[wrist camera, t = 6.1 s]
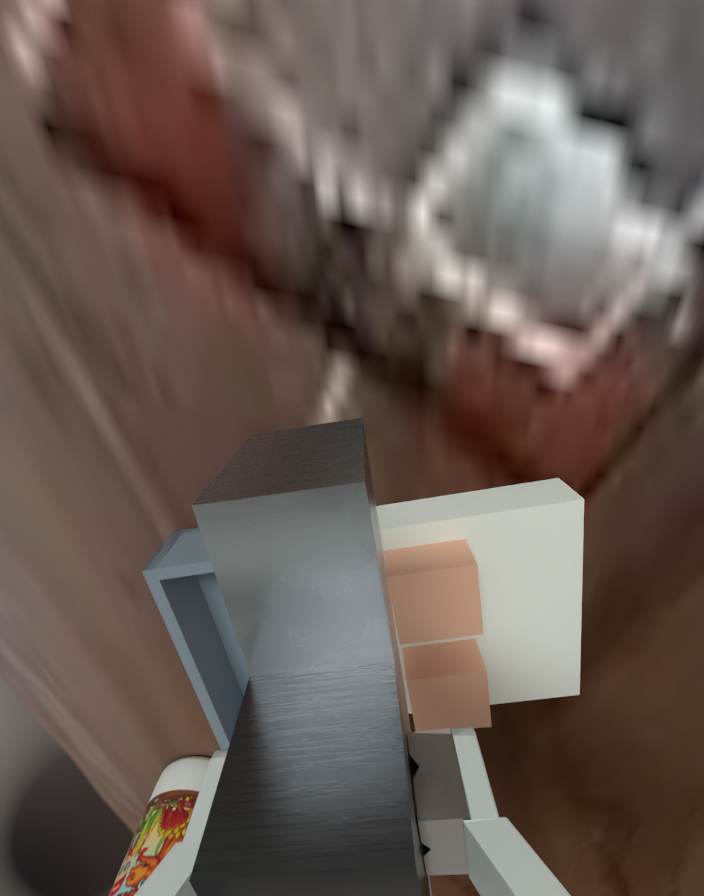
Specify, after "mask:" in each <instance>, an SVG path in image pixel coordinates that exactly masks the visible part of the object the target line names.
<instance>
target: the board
mask: <svg viewBox="0 0 704 896" xmlns="http://www.w3.org/2000/svg"><path fill="white" fill-rule="evenodd" d="M376 509H377V515H378V522H379V528H380V534H381V541H382V547H383V554H384V560H385V553H384V550H391V549H398V548H405V547H412V546H418V545H425V544H432V543H439V542H446V541H453V540H460V539H466V541H467V543H468V545H469V547H470V550H471V552H472V554H473V556H474V558H475V560H476V562H477V566H478V577H479V588H480V600H481V611H482V623H483V634H480V635H472V636H464V637H456V638H448V639H440V640H433V641H425V642H417V643H409V644H401V645H400V644H399V639H398V633H397V628H396V623H395V617H394V612H393V618H394V624H395V631H396V637H397V643H398V650H399V656H400V663H401V669H402V676H403V682H404V688H405V695H406V701H407V708H408V714H412V709H411V704H410V698H409V693H408V687H407V682H406V675H405V667H404V659H403V651H402V648H403V647H411V646H419V645H427V644H435V643H443V642H451V641H459V640H467V639H476V642H477V645H478V648H479V651H480V654H481V656H482V659H483V662H484V665H485V668H486V670H487V679H488V691H489V702H490V705H492V704H501V703H510V702H519V701H528V700H537V699H546V698H555V697H564V696H573V695H580V659H581V615H582V571H583V528H584V499H583V498H582V497H581V496H580V495H579V494H577V493H576V492H575V491H574V490H573V489H571V488H570V487H569V486H568V485H567V484H565V483H564V482H563V481H562V480H561V479H559V478H555V479H549V480H542V481H536V482H529V483H523V484H516V485H510V486H504V487H497V488H491V489H484V490H478V491H471V492H465V493H458V494H452V495H446V496H439V497H433V498H426V499H420V500H413V501H407V502H400V503H394V504H387V505H381V506H376ZM385 566H386V562H385ZM386 573H387V572H386ZM388 586H389V585H388ZM389 592H390V590H389ZM390 599H391V596H390ZM391 605H392V601H391ZM392 611H393V606H392Z"/></svg>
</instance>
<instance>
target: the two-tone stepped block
mask: <svg viewBox="0 0 704 896" xmlns="http://www.w3.org/2000/svg"><path fill="white" fill-rule="evenodd" d="M192 508H193V511H194V514H195V516H196V519H197V522H198V525H199V528H200V531H201V534H202V537H203V540H204V543H205V546H206V549H207V552H208V555H209V558H210V561H211V564H212V567H213V570H214V573H215V576H216V579H217V581H218V584H219V587H220V590H221V593H222V596H223V599H224V602H225V605H226V608H227V611H228V614H229V617H230V620H231V623H232V626H233V629H234V632H235V635H236V638H237V641H238V644H239V646H240V649H241V652H242V655H243V658H244V661H245V664H246V667H247V670H248V673H249V676H250V677H249V680H248V684H247V687H246V690H245V694H244V697H243V701H242V704H241V707H240V711H239V714H238V717H237V721H236V724H235V728H234V731H233V734H232V738H231V741H230V745H229V748H228V751H227V755H226V758H225V761H224V765H223V768H222V772H221V775H220V778H219V782H218V785H217V789H216V792H215V795H214V799H213V802H212V805H211V809H210V812H209V816H208V819H207V822H206V826H205V829H204V833H203V836H202V839H201V843H200V846H199V850H198V853H197V856H196V860H195V863H194V866H193V870H192V873H191V877H190V880H189V882H190V884H191V885H192V887H193V889H194V891H195V893H196V895H197V896H433V889H432V881H431V875H427V872H426V867H425V861H424V856H423V847H422V843H421V838H420V831H419V825H418V818H417V810H416V801H415V793H414V785H413V779H414V776H413V771H412V765H411V758H410V750H409V741H408V733H410V732H411V727H410V720H409V714H408V708H407V701H406V695H405V688H404V682H403V676H402V669H401V663H400V656H399V650H398V643H397V637H396V631H395V624H394V618H393V611H392V605H391V599H390V592H389V586H388V579H387V573H386V566H385V560H384V554H383V547H382V541H381V534H380V528H379V522H378V515H377V509H376V502H375V496H374V490H373V483H372V477H371V470H370V464H369V457H368V451H367V445H366V438H365V432H364V425H363V419H362V418H359V419H352V420H345V421H339V422H332V423H325V424H319V425H312V426H306V427H299V428H292V429H286V430H279V431H272V432H266V433H259V434H253V435H252V436H251V437H250V438H249V439H248V440H247V442H246V443H245V444H244V445H243V446H242V447H241V449H240V450H239V451H238V452H237V453H236V454H235V456H234V457H233V458H232V459H231V460H230V462H229V463H228V464H227V465H226V466H225V467H224V469H223V470H222V471H221V472H220V473H219V475H218V476H217V477H216V478H215V479H214V480H213V482H212V483H211V484H210V485H209V486H208V487H207V489H206V490H205V491H204V492H203V493H202V495H201V496H200V497H199V498H198V499H197V500H196V502H195V503H194V504H193V505H192Z"/></svg>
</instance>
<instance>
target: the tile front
mask: <svg viewBox="0 0 704 896" xmlns="http://www.w3.org/2000/svg"><path fill="white" fill-rule="evenodd" d="M384 553H385V562H386V572H387V579H388V585H389V590H390V596H391V601H392V606H393V612H394V617H395V623H396V628H397V633H398V639H399V644H400V645H401V644H409V643H417V642H425V641H433V640H440V639H448V638H456V637H464V636H472V635H480V634H483V623H482V611H481V600H480V588H479V577H478V566H477V562H476V560H475V558H474V556H473V554H472V552H471V550H470V547H469V545H468V543H467V541H466V539H460V540H453V541H446V542H439V543H432V544H425V545H418V546H412V547H405V548H398V549H391V550H384Z"/></svg>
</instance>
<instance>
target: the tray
mask: <svg viewBox="0 0 704 896" xmlns="http://www.w3.org/2000/svg"><path fill="white" fill-rule="evenodd" d="M142 572H143V575H144V577H145V579H146V581H147V584H148V586H149V588H150V590H151V593H152V595H153V597H154V599H155V602H156V604H157V606H158V608H159V611H160V613H161V615H162V617H163V620H164V622H165V624H166V627H167V629H168V631H169V633H170V636H171V638H172V640H173V642H174V645H175V647H176V649H177V651H178V654H179V656H180V658H181V660H182V663H183V665H184V667H185V669H186V672H187V674H188V676H189V678H190V681H191V683H192V685H193V687H194V690H195V692H196V694H197V696H198V699H199V701H200V703H201V705H202V708H203V710H204V712H205V714H206V717H207V719H208V721H209V723H210V726H211V728H212V730H213V732H214V735H215V737H216V739H217V741H218V744H219V746H220V748H221V750H227V749H228V748H229V745H230V741H231V738H232V734H233V731H234V728H235V724H236V721H237V717H238V714H239V711H240V707H241V704H242V701H243V697H244V694H245V690H246V687H247V684H248V680H249V677H250V676H249V673H248V670H247V667H246V664H245V661H244V658H243V655H242V652H241V649H240V646H239V644H238V641H237V638H236V635H235V632H234V629H233V626H232V623H231V620H230V617H229V614H228V611H227V608H226V605H225V602H224V599H223V596H222V593H221V590H220V587H219V584H218V581H217V579H216V576H215V573H214V570H213V567H212V564H211V561H210V558H209V555H208V552H207V549H206V546H205V543H204V540H203V537H202V534H201V531H200V528H199V527H198V528H191V529H185V530H179V531H175V532H174V533H173V534H172V536H171V537H170V538H169V539H168V540H167V542H166V543H165V544H164V545H163V546H162V548H161V549H160V550H159V551H158V552H157V554H156V555H155V556H154V557H153V558H152V560H151V561H150V562H149V563H148V564H147V566H146V567H145V568H144V569H143V570H142Z"/></svg>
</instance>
